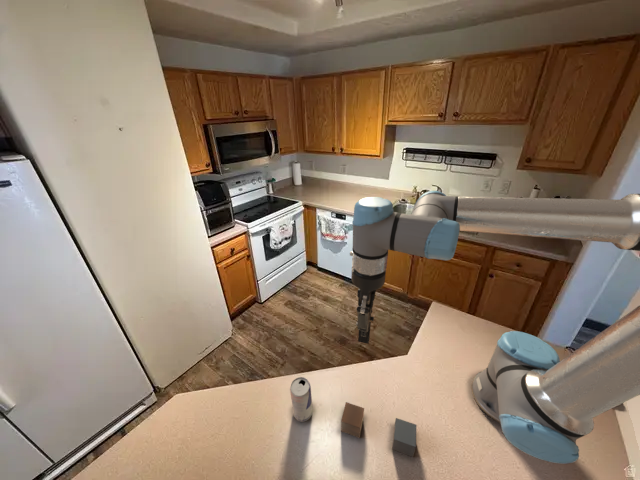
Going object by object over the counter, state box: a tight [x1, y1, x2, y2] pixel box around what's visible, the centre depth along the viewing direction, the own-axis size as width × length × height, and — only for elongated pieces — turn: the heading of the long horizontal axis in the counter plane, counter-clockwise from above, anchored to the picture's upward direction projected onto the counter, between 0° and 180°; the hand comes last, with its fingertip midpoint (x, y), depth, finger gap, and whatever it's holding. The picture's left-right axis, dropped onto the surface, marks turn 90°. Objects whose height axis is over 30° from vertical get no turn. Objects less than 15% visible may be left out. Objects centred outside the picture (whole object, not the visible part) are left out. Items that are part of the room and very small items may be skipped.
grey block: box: [391, 417, 417, 458], centre depth 64 cm, size 5×5×5 cm
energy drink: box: [289, 376, 314, 423], centre depth 69 cm, size 5×5×12 cm
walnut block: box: [340, 401, 365, 439], centre depth 68 cm, size 5×5×5 cm
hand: (363, 340), depth 68 cm, fingers closed
